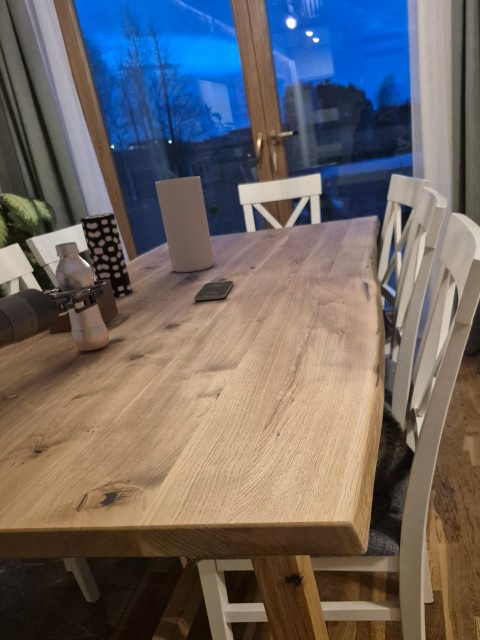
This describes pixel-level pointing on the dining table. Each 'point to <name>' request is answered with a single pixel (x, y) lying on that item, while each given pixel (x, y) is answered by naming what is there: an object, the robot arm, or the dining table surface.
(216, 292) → the smartphone
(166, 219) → the cylinder vase
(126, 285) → the white-spotted black cylinder
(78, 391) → the dining table surface
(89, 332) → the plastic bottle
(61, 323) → the holder
